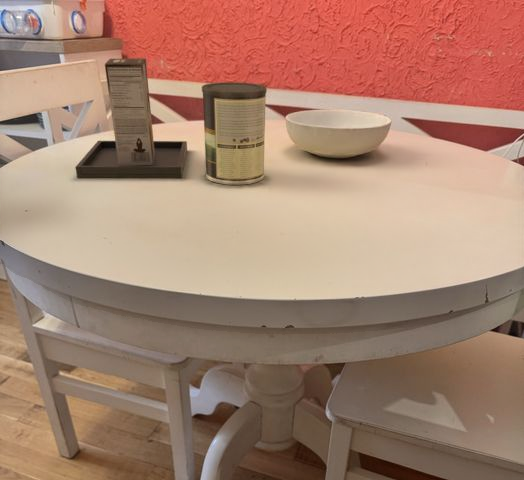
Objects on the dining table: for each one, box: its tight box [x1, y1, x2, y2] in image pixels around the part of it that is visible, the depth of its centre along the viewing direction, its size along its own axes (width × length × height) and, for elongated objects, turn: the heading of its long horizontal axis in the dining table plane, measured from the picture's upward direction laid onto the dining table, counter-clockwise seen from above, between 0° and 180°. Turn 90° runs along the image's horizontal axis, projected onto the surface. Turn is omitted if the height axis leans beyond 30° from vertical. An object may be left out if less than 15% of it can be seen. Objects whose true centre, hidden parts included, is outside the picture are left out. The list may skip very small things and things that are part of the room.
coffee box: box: [104, 58, 155, 166], centre depth 88 cm, size 9×6×16 cm
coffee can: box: [201, 81, 268, 186], centre depth 83 cm, size 10×10×14 cm
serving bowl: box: [285, 109, 392, 159], centre depth 101 cm, size 21×21×7 cm
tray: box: [75, 140, 188, 179], centre depth 93 cm, size 18×20×2 cm
